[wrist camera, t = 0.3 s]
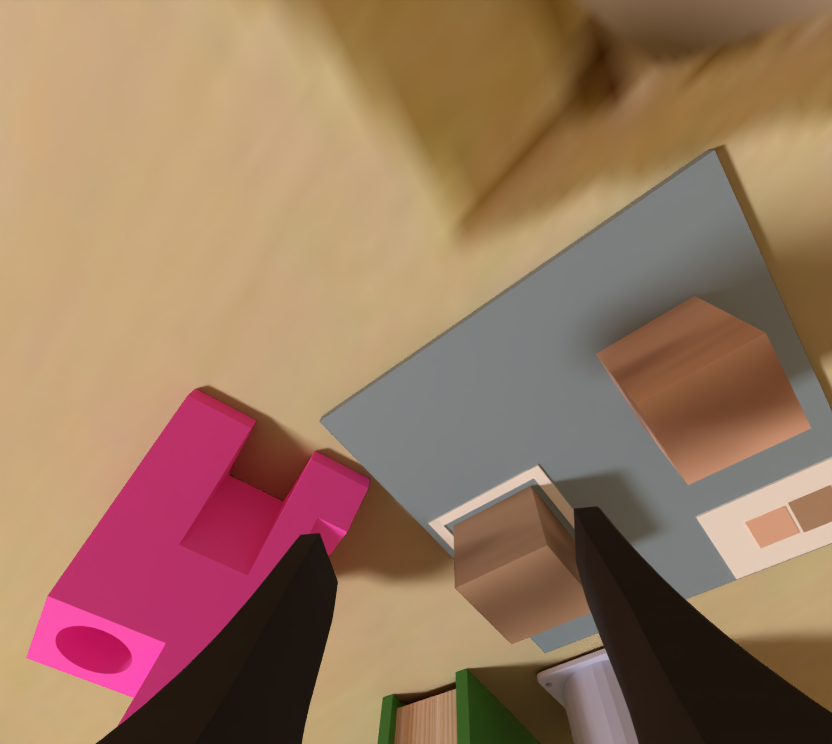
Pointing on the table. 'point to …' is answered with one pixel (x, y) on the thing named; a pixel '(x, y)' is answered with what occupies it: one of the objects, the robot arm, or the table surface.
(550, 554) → the walnut block
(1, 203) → the table surface
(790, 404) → the terracotta block
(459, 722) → the hardback book
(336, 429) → the mat
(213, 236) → the table surface
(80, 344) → the table surface
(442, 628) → the table surface
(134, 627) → the bracket
